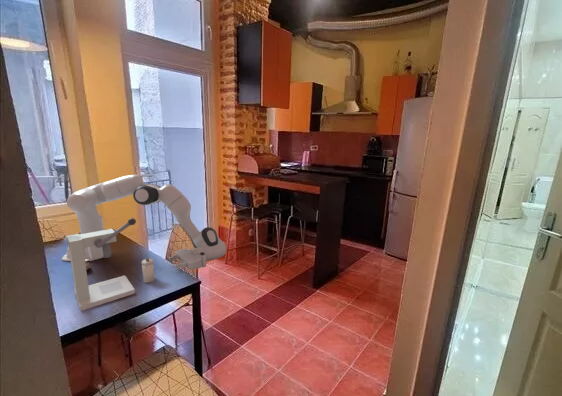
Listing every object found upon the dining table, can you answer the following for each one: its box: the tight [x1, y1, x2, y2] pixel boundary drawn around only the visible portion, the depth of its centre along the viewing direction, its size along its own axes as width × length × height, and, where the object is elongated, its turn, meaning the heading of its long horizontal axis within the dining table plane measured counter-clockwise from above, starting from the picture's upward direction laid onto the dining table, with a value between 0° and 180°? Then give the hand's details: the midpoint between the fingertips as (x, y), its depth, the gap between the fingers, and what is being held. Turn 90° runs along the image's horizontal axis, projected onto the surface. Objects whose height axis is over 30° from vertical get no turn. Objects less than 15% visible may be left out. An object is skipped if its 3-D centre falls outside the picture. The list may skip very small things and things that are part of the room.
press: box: [66, 217, 137, 312], centre depth 123 cm, size 24×16×34 cm
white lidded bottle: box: [141, 257, 156, 284], centre depth 136 cm, size 5×5×12 cm
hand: (172, 262), depth 144 cm, fingers open, 8 cm apart
